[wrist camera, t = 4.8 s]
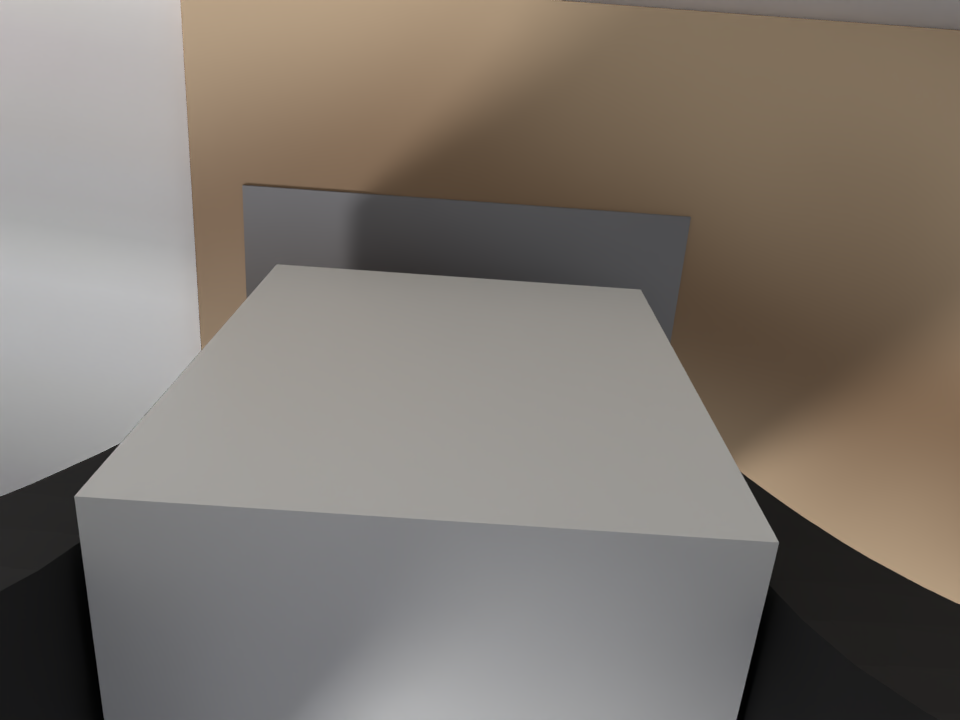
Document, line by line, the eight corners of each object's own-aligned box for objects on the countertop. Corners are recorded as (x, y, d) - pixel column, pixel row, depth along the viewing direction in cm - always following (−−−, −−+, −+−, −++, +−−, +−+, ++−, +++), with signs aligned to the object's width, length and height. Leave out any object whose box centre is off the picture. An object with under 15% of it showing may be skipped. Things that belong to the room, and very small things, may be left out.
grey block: (596, 587, 13) (670, 991, 8) (283, 567, 13) (135, 959, 8) (640, 289, 12) (779, 542, 6) (276, 264, 11) (75, 496, 6)
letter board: (830, 1068, 20) (835, 1085, 20) (246, 1034, 20) (242, 1051, 20) (1204, 48, 12) (1224, 49, 11) (186, -27, 11) (177, -28, 11)
